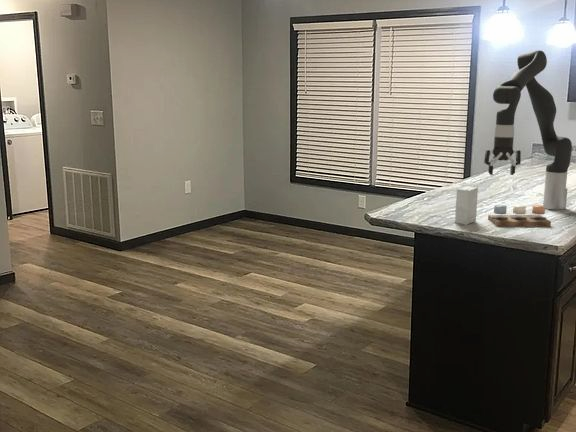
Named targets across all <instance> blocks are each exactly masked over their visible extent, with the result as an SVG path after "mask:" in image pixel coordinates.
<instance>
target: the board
mask: <svg viewBox="0 0 576 432" xmlns="http://www.w3.org/2000/svg"><path fill="white" fill-rule="evenodd" d="M487 220H488V221H489V222H491V223H492V224H493V225H495V226H496V227H551V222H552V221H551V220H549V219H547V217H546V216H542V214H488V216H487Z"/></svg>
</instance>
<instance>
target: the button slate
mask: <svg viewBox="0 0 576 432" xmlns="http://www.w3.org/2000/svg"><path fill="white" fill-rule="evenodd" d="M507 210H508V207H507V205H504V204H495V205H494V206H493V214H494V215H507Z"/></svg>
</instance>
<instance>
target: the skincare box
mask: <svg viewBox="0 0 576 432" xmlns="http://www.w3.org/2000/svg"><path fill="white" fill-rule="evenodd" d="M478 193H479V188H478V187H474V186H468V185H465V186H463V187H460V188H456V198H455V199H456V200H455V212H454V213H455V214H454V215H455V217H454V222H455V223H456V224H461V225H466V224H467V225H468V224H472V223H474V222H476V221H477V208H478V195H479V194H478Z"/></svg>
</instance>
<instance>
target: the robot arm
mask: <svg viewBox="0 0 576 432" xmlns="http://www.w3.org/2000/svg"><path fill="white" fill-rule="evenodd" d="M547 64H548V59H547V55H546V53H545V52H544V51H543V50H538V49H537V50H533V51H529V52H525V53H521V54H519V55H518V57H517V66H518V70H517V71H516V72H514V73H513V74H512V75H511V76H510V77H509V78H508V79H507V80H506V81H504V82H502V83H501V84H499V85H498V86H496V88H495V89H494V91H493V95H492V98H493V99H492V100H493V101H494V102H495V103H496V104H498V105H499V104H500V105H502V104H503V105H508V107H507V108H505V109H500V110H497V112H496V116H495V117H496V119H495V121H496V122H495V127H494V139H493V140H494V141H493V149H485V153H484V161H483V163H484V165H488V174H489V175H490V176H493V175H494V174H493V173H494V165H495V163H496V162H497V161H508V162H509V163H510V172H509V174H510V175H511V176H514V174H515V173H516V166H518V165H519V166H520V165H521V161H522V160H521V155H522V154H521V153H522V151H521V150H520V149H516V150H514V136H515V116H516V115H515V114H516V110H517V108H518V105H519V104H520V103H519V102H520V100H521V95H522V91H523V90H524V88H526V91H527V92H528V96H529V99H530V102H531V106H532V110H533V113H534V115H535V118H536V121H537V125H538V128H539V131H540V132H539V133H540V137H541V141H542V142H541V143H542V147H543V149H544V152H545V154H547V155H548V156H551V157H554V158H553V159H554V160H553V162H552V163H548V164H547V165H546V166H545V178H544V179H545V180H544V190H543V192H544V193H543V202H542V205H543V206H545V210H546V209H547V210H557V211H558V210H559V211H561V210H566V209H567V201H568V200H567V199H568V188H567V183H568V182H567V179H568V169H569V167H570V165H571V160H572V159H571V157H572V151H573V143H572V140H571V139H570V138H568V137H566V136H565V137H564V136H558V135H557V134H556V131H555V128H554V127H555V126H554V124H555V123H554V122H555V120H556V119H555V118H556V114H557V107H556V103H555V99H554V96H553V94H552V93H551V92H549V90H548V89H546V88H545V87H544V86H542V85H541V83H540V82H538V81H537V79H536V78H535V77H537V76H538V75H539V74H541V72H543V71H544V70H545V69H546V67H547ZM492 154H493V157H492V158H491V160H490V157H491V155H492ZM512 155H515V161H514V159H513V157H512Z"/></svg>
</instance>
